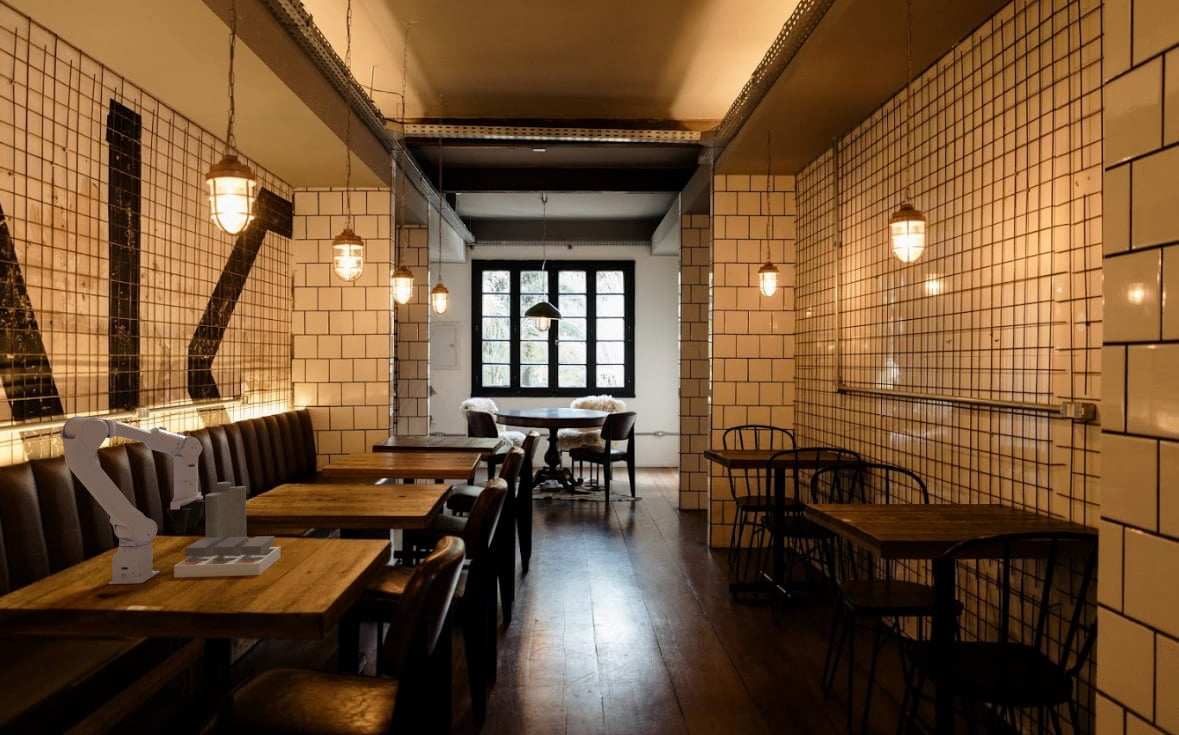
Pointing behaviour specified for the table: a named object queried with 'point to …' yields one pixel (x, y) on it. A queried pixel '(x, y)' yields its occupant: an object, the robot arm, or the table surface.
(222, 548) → the button middle
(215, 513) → the hip flask
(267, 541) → the button
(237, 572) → the switch unit
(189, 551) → the button
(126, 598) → the table surface
